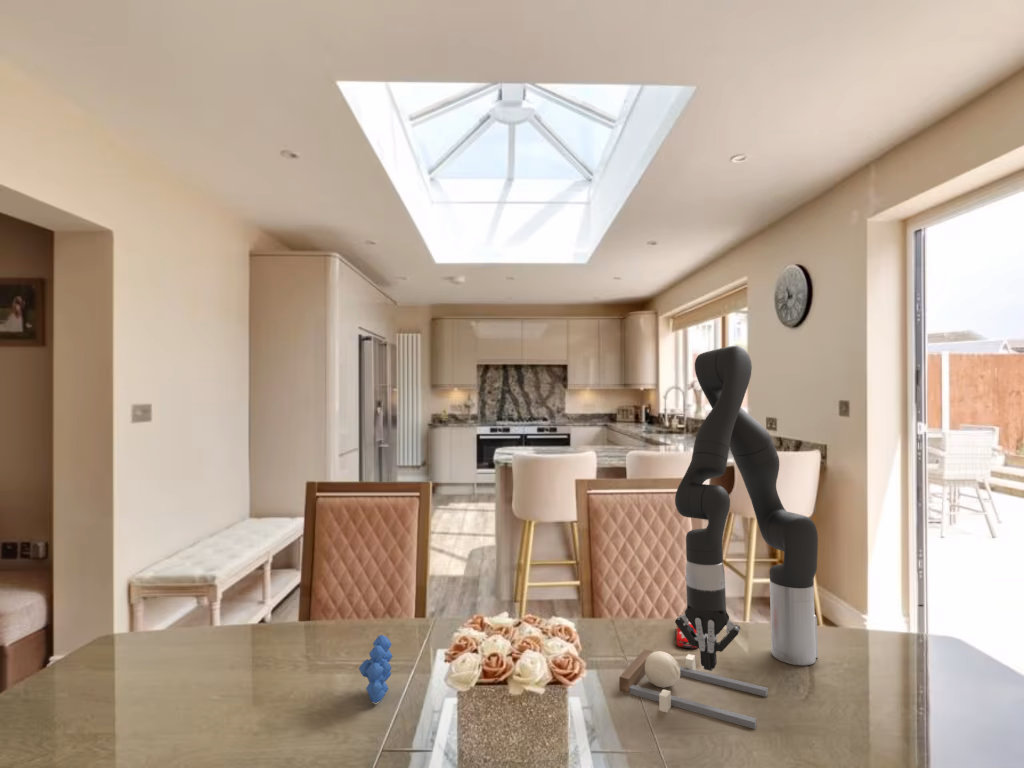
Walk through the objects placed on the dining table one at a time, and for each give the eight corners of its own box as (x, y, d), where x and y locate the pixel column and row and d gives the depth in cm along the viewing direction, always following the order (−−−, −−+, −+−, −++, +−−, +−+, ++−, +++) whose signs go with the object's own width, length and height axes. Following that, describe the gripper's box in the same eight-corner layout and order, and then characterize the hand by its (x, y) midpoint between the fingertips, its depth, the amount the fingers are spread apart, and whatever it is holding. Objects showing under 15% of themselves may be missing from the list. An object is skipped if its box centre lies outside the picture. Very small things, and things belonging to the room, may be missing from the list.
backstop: (653, 664, 129) (652, 651, 129) (628, 693, 116) (628, 679, 116) (644, 662, 130) (644, 649, 130) (619, 691, 117) (619, 676, 117)
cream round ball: (678, 696, 115) (677, 663, 115) (641, 689, 118) (641, 656, 118) (683, 681, 121) (682, 649, 121) (648, 674, 124) (648, 644, 124)
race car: (699, 652, 135) (698, 635, 135) (675, 650, 137) (675, 633, 137) (698, 630, 148) (698, 615, 148) (677, 628, 149) (676, 612, 150)
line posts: (695, 669, 126) (695, 655, 126) (667, 712, 109) (666, 696, 109) (688, 667, 127) (688, 654, 127) (659, 710, 110) (659, 694, 110)
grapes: (366, 683, 122) (366, 626, 122) (398, 682, 122) (397, 626, 122) (350, 713, 110) (350, 650, 111) (385, 712, 110) (384, 650, 111)
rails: (767, 693, 116) (767, 687, 116) (754, 729, 103) (754, 722, 103) (652, 665, 129) (652, 659, 129) (629, 693, 116) (629, 687, 116)
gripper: (743, 581, 115) (746, 668, 115) (677, 573, 122) (681, 654, 122) (736, 593, 109) (740, 684, 108) (667, 583, 116) (670, 669, 115)
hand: (708, 668), depth 115 cm, fingers closed
